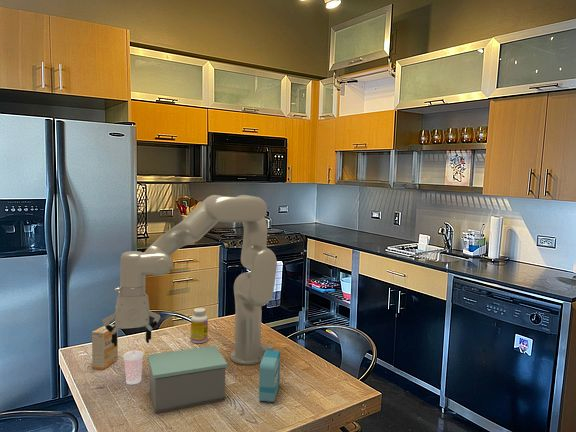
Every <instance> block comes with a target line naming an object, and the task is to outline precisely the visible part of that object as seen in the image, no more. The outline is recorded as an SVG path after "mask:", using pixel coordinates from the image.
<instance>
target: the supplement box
mask: <svg viewBox="0 0 576 432" xmlns="http://www.w3.org/2000/svg"><path fill="white" fill-rule="evenodd" d="M109 325H111V326H112V327H113V326H114V325H115V324H110V323H109ZM118 331H119V330H118ZM118 331H117V346H116V347H114V343H112V334H111V332H109V331H108V330H107V329H106V327H105V326H104V325H103V326H101V327H99V328H96V329H95V330H93V331H91V355H92V356H91V363H92V365H91V367H92V369H94V370H95V369H96V370H101V371H104V370H105V369H107V368H108V367H109V366H111V365H112V364H114V363H115V362H117V361H118V359H119V358H118V357H119V355H118V353H119V352H118V349H119V348H118V346H119V344H118V343H119V340H118V339H119V338H118V337H119V334H118V333H119V332H118Z"/></svg>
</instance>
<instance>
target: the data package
mask: <svg viewBox="0 0 576 432" xmlns="http://www.w3.org/2000/svg"><path fill="white" fill-rule="evenodd" d="M280 372H281V350H274V349H273V350H266V351H265V353H264V356H263V358H262V361H261V362H259V378H258V379H259V380H258V381H259V382H258V388H259V389H258V401H260V402H269V403H274V402H275V400H276V397H277V394H278V390H279V388H280V380H281V379H280V377H281V376H280V374H281V373H280Z"/></svg>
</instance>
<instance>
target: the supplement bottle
mask: <svg viewBox="0 0 576 432" xmlns="http://www.w3.org/2000/svg"><path fill="white" fill-rule="evenodd" d="M208 321H209V318H208V316H207V315H206V308H204V307H197V308H193V315H192V316H191V317H190V342H192V343H193V344H204V343H206V342H207V341H208V337H209V336H208V335H209V334H208V329H209V328H208V325H209V324H208Z"/></svg>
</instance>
